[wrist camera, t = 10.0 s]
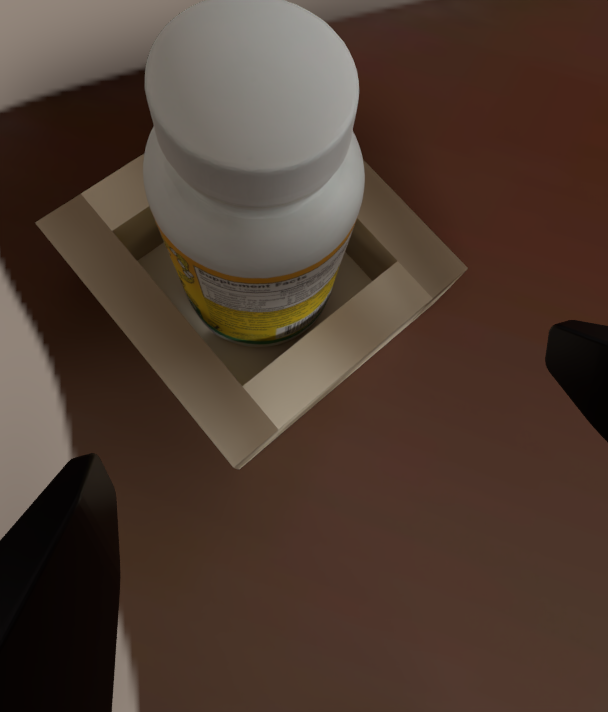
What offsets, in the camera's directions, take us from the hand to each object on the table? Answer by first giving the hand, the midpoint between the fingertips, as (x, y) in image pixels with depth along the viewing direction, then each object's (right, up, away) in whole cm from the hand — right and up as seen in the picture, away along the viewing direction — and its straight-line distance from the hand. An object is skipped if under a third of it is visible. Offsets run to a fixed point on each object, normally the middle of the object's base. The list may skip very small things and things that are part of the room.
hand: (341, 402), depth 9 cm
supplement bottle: (-2, +4, +9) cm, 10 cm away
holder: (-2, +4, +10) cm, 11 cm away
